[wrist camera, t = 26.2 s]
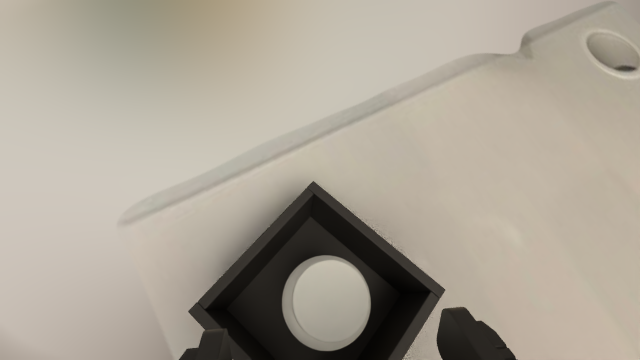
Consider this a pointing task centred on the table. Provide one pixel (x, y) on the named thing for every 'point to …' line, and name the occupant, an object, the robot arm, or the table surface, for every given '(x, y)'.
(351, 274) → the supplement bottle
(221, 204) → the table surface
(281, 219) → the basket
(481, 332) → the robot arm
